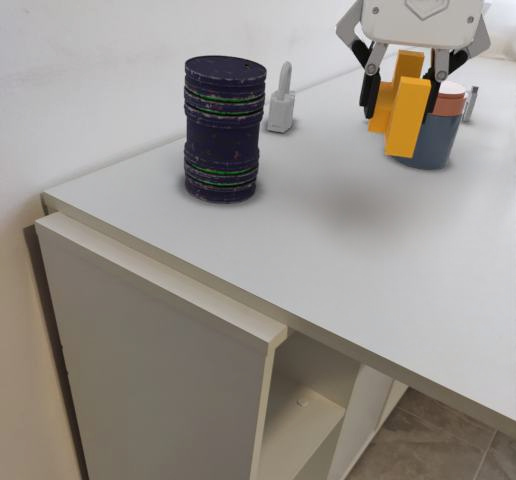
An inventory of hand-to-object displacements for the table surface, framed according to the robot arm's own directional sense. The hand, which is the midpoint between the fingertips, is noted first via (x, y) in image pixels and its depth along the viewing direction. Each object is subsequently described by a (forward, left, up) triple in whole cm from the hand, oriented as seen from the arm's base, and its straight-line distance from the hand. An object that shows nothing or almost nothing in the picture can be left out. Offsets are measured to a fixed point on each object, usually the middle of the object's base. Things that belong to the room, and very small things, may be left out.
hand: (393, 115), depth 55 cm
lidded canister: (-12, -30, -15) cm, 35 cm away
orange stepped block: (0, 0, -2) cm, 2 cm away
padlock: (+11, -37, -15) cm, 41 cm away
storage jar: (+18, -11, -15) cm, 26 cm away
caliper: (-25, -60, -15) cm, 67 cm away
